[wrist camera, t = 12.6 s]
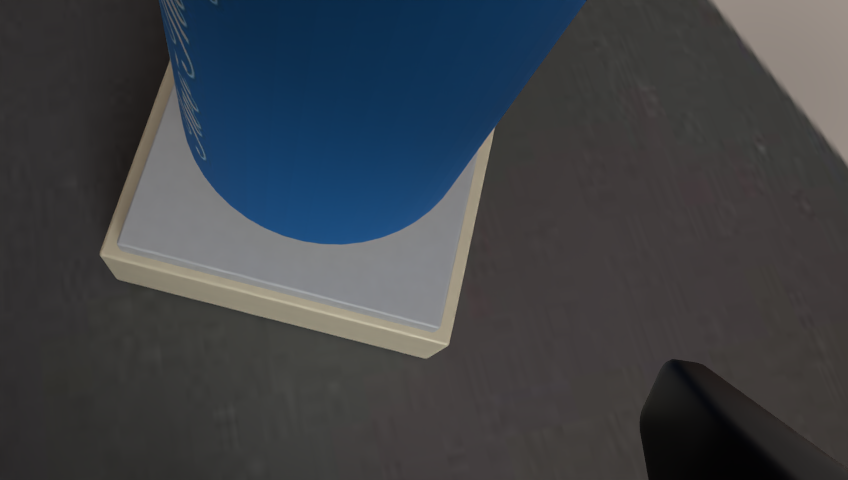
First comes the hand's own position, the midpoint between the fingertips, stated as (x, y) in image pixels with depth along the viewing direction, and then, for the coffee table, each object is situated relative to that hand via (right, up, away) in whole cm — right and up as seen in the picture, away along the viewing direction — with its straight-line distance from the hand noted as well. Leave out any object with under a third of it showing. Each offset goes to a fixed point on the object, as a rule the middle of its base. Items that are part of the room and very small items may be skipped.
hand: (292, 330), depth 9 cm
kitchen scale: (-1, +3, +12) cm, 13 cm away
